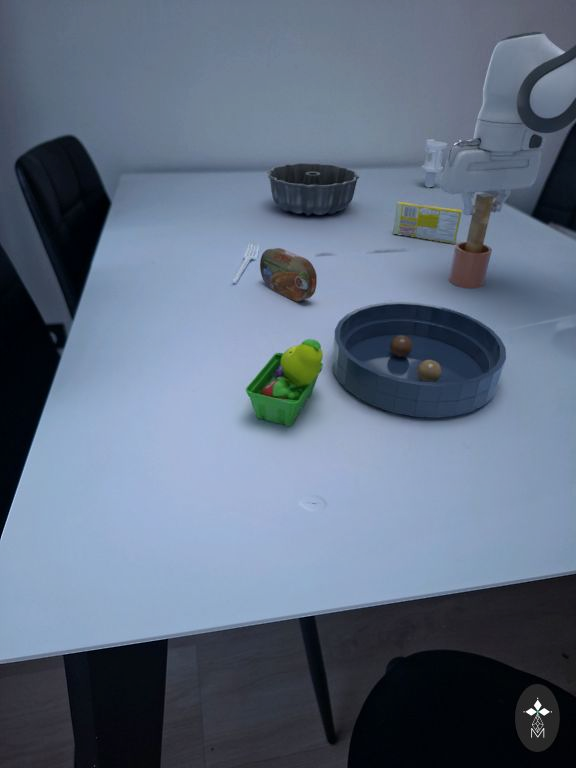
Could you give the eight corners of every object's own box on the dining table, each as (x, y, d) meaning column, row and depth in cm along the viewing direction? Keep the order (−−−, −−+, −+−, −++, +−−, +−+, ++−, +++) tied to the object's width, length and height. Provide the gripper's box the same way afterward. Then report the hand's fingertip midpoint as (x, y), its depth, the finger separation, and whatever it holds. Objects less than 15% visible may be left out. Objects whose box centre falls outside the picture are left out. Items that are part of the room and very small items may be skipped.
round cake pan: (433, 323, 99) (439, 293, 95) (532, 399, 79) (544, 365, 76) (307, 346, 91) (308, 314, 87) (382, 437, 71) (388, 401, 68)
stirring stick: (467, 278, 115) (486, 193, 105) (474, 282, 113) (494, 196, 103) (458, 279, 114) (476, 194, 104) (465, 284, 113) (484, 197, 102)
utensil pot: (468, 275, 118) (476, 240, 114) (490, 288, 113) (499, 251, 108) (441, 279, 116) (448, 244, 111) (462, 292, 110) (470, 255, 106)
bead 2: (430, 373, 83) (434, 353, 81) (444, 385, 81) (448, 365, 79) (410, 377, 82) (414, 357, 80) (423, 389, 79) (427, 369, 77)
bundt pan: (329, 227, 144) (332, 189, 138) (249, 210, 155) (249, 174, 149) (370, 205, 162) (373, 170, 157) (296, 191, 174) (297, 159, 168)
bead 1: (403, 348, 89) (406, 329, 87) (414, 359, 87) (418, 340, 85) (384, 352, 88) (387, 333, 86) (395, 363, 86) (399, 343, 84)
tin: (258, 283, 112) (258, 244, 107) (270, 279, 114) (270, 241, 109) (306, 308, 103) (308, 266, 98) (318, 303, 104) (320, 262, 100)
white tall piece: (415, 184, 185) (422, 137, 176) (434, 184, 186) (442, 137, 178) (423, 189, 179) (431, 141, 171) (442, 189, 180) (451, 141, 172)
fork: (226, 284, 111) (226, 275, 110) (247, 251, 128) (247, 243, 127) (241, 285, 111) (241, 277, 110) (260, 252, 127) (260, 244, 126)
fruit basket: (275, 379, 82) (276, 313, 76) (330, 392, 79) (336, 325, 73) (244, 421, 73) (242, 350, 67) (304, 437, 71) (308, 365, 64)
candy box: (456, 242, 136) (462, 209, 132) (454, 244, 135) (461, 211, 130) (394, 232, 142) (398, 200, 137) (392, 234, 140) (396, 202, 135)
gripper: (462, 143, 92) (447, 222, 100) (553, 138, 99) (532, 213, 106) (441, 136, 97) (428, 213, 105) (529, 132, 103) (511, 204, 111)
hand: (481, 213), depth 106 cm, fingers open, 5 cm apart
